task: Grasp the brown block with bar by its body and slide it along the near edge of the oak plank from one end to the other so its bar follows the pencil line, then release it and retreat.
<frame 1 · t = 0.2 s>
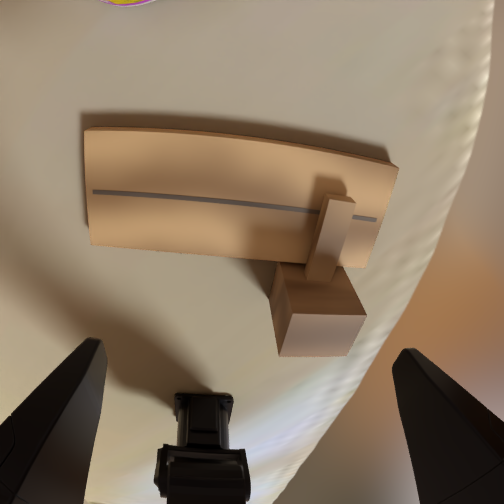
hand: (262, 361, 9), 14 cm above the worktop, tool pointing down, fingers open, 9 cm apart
brown block with bar: (304, 281, 25), on the worktop
plank: (239, 195, 21), on the worktop
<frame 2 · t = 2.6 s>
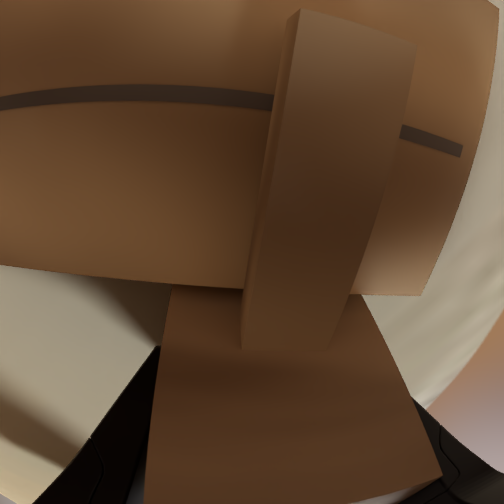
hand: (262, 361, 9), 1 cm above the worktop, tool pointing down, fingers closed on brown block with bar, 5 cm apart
brown block with bar: (258, 330, 10), on the worktop, touching gripper
plank: (41, 94, 5), on the worktop
when the fingers open (1 cm above the worktop, at t = 7.7 s): brown block with bar stays where it is, on the worktop.
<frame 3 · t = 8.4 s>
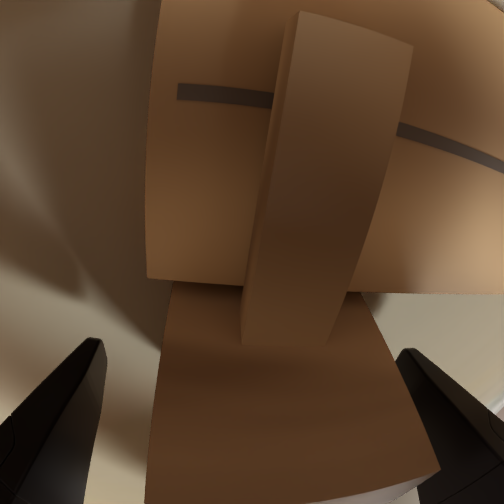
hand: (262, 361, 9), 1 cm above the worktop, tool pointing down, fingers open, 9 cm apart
brown block with bar: (258, 327, 10), on the worktop
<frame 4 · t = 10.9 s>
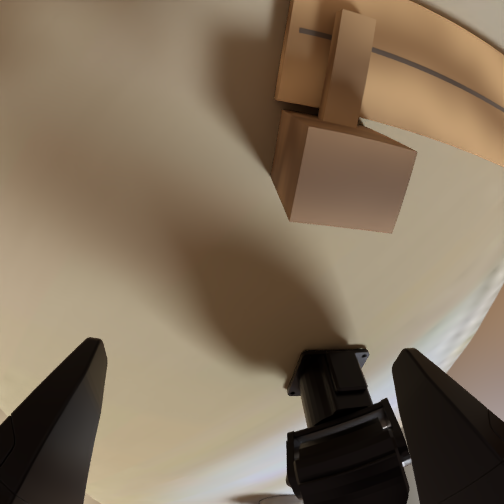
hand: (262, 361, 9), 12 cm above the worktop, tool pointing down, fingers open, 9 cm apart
brown block with bar: (318, 150, 18), on the worktop
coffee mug: (279, 500, 57), on the worktop
plank: (437, 78, 15), on the worktop
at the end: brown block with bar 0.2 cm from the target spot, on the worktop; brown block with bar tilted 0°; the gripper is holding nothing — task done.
